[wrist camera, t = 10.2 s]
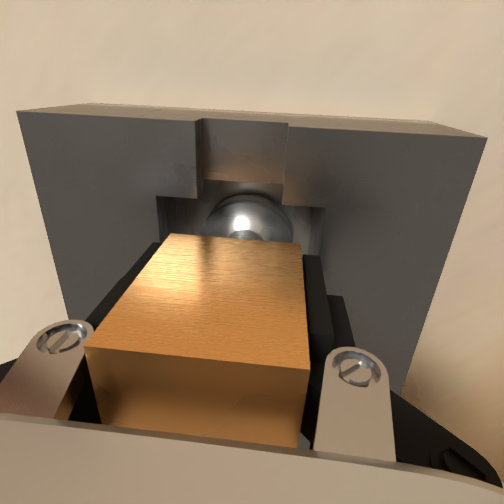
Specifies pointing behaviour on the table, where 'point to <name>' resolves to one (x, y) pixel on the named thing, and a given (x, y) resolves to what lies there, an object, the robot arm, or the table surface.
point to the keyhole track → (264, 185)
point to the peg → (211, 333)
